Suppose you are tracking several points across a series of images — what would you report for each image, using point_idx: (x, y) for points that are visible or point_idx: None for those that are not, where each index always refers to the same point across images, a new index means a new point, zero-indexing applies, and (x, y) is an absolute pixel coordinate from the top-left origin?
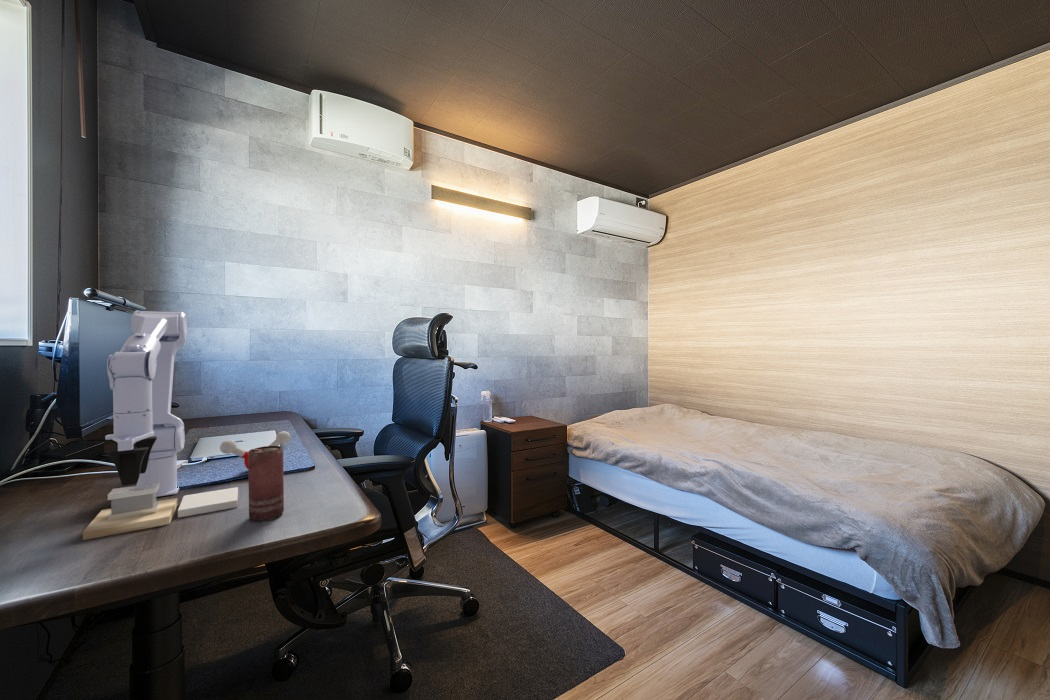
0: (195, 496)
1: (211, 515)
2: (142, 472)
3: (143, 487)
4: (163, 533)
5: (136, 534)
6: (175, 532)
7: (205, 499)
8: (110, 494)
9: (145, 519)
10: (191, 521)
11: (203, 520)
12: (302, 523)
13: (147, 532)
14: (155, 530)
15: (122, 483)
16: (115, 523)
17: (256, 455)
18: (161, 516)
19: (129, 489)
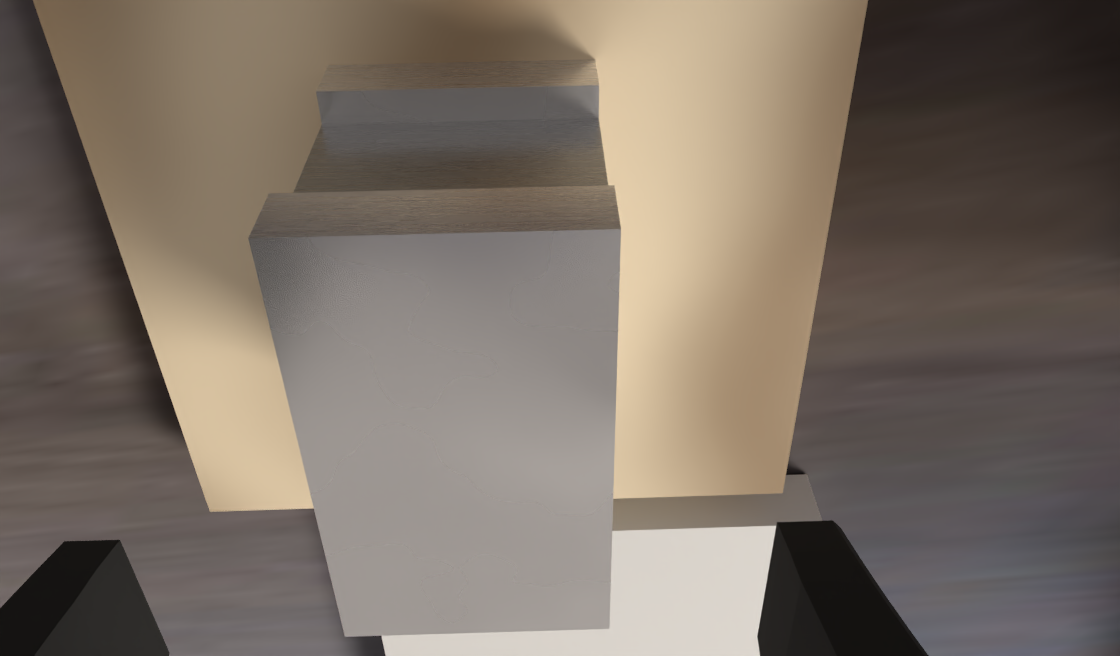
0: (714, 592)
1: (312, 639)
2: (761, 634)
3: (452, 538)
4: (19, 455)
5: (60, 298)
6: (16, 513)
7: (563, 650)
8: (263, 268)
9: (208, 375)
10: (232, 563)
11: (220, 614)
12: None
13: (83, 360)
14: (113, 401)
15: (38, 573)
16: (189, 161)
17: None
18: (242, 465)
19: (433, 428)
